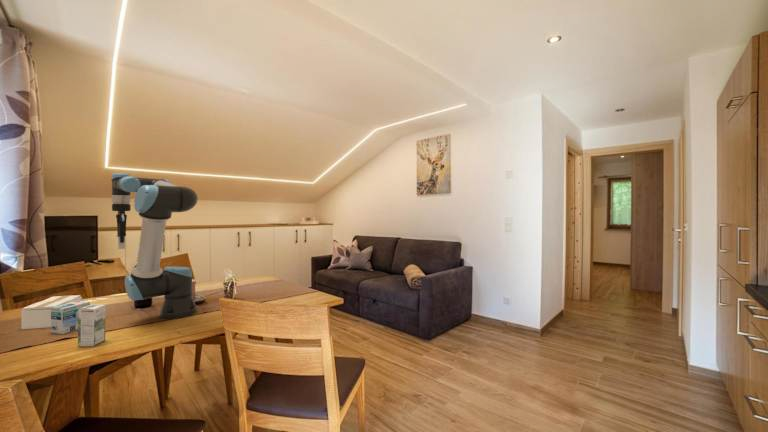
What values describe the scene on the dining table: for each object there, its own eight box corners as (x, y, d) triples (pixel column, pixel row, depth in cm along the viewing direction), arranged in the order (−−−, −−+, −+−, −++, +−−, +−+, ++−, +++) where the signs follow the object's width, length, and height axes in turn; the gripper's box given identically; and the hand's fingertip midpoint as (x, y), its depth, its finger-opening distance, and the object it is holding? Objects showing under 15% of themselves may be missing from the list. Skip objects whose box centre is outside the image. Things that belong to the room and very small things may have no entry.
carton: (51, 315, 154) (51, 296, 154) (82, 313, 158) (82, 294, 157) (21, 329, 137) (21, 307, 137) (56, 326, 140) (56, 305, 140)
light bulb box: (62, 334, 133) (62, 308, 132) (50, 333, 134) (49, 307, 134) (91, 325, 143) (90, 301, 143) (79, 324, 144) (78, 300, 144)
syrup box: (90, 340, 127) (89, 304, 127) (106, 340, 128) (105, 304, 127) (77, 346, 122) (77, 308, 121) (94, 346, 122) (94, 308, 122)
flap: (52, 298, 154) (52, 296, 154) (80, 296, 157) (80, 294, 157) (38, 304, 146) (38, 302, 146) (68, 302, 149) (68, 300, 149)
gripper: (132, 203, 166) (132, 249, 167) (128, 203, 175) (128, 246, 176) (113, 203, 161) (114, 250, 161) (110, 203, 170) (110, 248, 171)
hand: (121, 248), depth 169 cm, fingers closed
